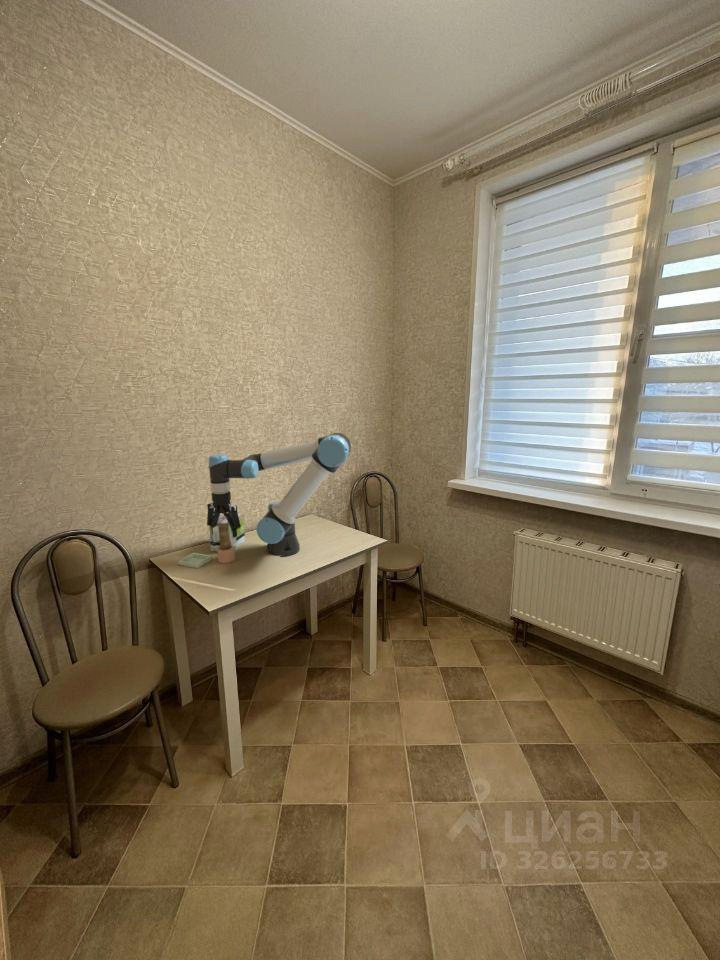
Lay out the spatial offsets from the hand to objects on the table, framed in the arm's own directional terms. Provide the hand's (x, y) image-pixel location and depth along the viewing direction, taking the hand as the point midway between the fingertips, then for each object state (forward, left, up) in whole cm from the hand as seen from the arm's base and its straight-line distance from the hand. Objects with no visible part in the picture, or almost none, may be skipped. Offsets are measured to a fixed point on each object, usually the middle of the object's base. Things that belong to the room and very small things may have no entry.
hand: (225, 542), depth 164 cm
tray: (+11, +6, -9) cm, 16 cm away
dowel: (0, 0, -8) cm, 8 cm away
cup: (0, 0, -9) cm, 9 cm away
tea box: (+10, -14, -9) cm, 19 cm away
